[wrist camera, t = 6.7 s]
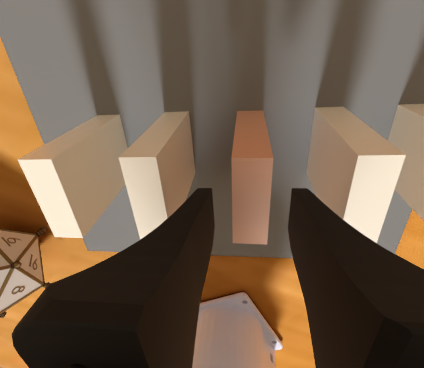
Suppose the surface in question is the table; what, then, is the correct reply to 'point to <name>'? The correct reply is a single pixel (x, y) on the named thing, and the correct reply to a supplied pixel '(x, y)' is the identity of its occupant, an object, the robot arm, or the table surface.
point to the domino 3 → (251, 178)
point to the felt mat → (218, 85)
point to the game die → (19, 267)
